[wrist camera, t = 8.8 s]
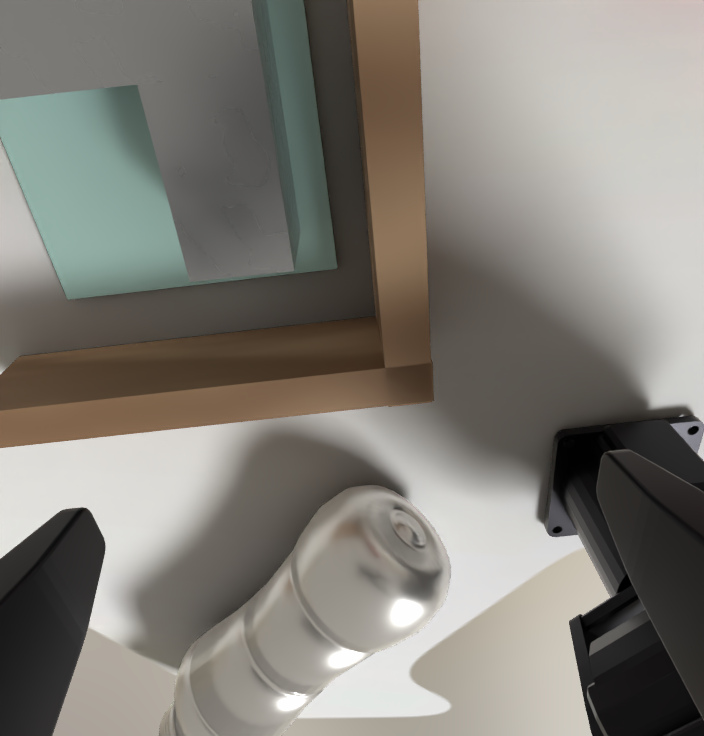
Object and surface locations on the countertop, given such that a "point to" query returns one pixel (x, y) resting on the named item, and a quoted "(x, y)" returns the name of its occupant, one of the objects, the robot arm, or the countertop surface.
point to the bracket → (179, 111)
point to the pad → (148, 177)
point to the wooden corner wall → (280, 344)
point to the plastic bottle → (314, 617)
